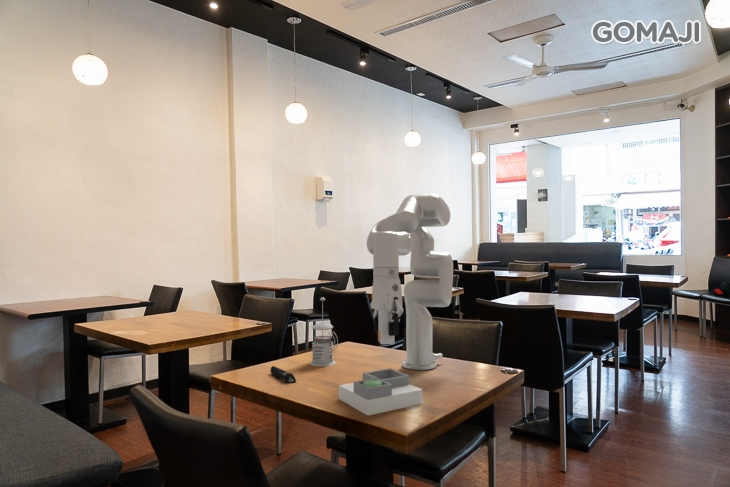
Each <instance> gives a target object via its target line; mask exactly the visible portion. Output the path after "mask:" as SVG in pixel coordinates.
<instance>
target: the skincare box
mask: <svg viewBox="0 0 730 487" xmlns="http://www.w3.org/2000/svg"><path fill="white" fill-rule="evenodd" d="M391 310H392V311H394V304H393V307H392V309H391ZM392 316H394V313H393V314H392ZM389 322H390V319H389V315H388V313H387V312H385V309H384V303H380V306H379V311H378V334H377V335H378V336H377V337H378V342H379V343H380V345H395V344H396V342H395V336H396V335H394V336H389Z"/></svg>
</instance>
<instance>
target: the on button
mask: <svg viewBox="0 0 730 487" xmlns="http://www.w3.org/2000/svg"><path fill="white" fill-rule="evenodd" d="M363 385H365V386H367V387H374V386H380V385H382V382H381V381H379V380H366V381H364V382H363Z"/></svg>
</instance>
